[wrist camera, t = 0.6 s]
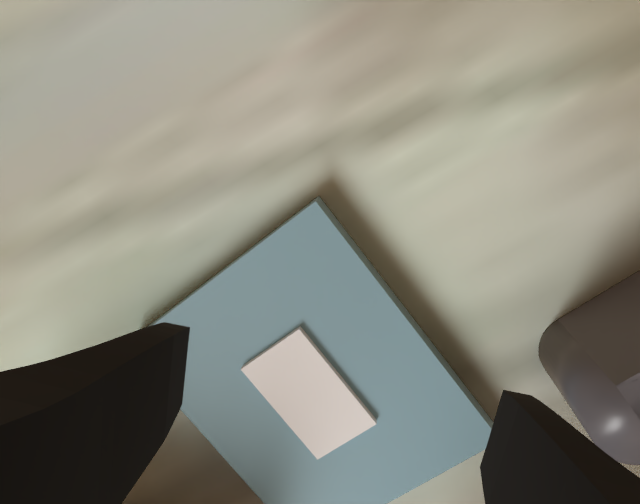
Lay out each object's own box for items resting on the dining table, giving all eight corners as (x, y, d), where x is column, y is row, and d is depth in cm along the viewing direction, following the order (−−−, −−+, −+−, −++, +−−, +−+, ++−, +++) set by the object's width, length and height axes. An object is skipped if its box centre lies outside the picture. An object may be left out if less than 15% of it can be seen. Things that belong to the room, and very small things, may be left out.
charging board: (493, 422, 21) (502, 445, 20) (308, 527, 24) (303, 554, 22) (319, 196, 20) (314, 202, 18) (137, 334, 22) (120, 349, 20)
